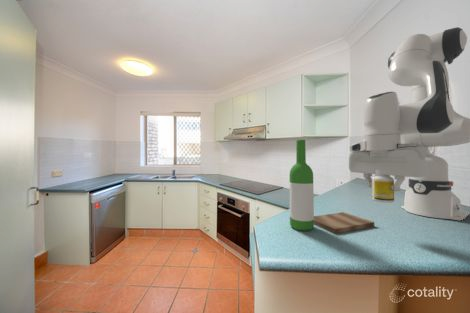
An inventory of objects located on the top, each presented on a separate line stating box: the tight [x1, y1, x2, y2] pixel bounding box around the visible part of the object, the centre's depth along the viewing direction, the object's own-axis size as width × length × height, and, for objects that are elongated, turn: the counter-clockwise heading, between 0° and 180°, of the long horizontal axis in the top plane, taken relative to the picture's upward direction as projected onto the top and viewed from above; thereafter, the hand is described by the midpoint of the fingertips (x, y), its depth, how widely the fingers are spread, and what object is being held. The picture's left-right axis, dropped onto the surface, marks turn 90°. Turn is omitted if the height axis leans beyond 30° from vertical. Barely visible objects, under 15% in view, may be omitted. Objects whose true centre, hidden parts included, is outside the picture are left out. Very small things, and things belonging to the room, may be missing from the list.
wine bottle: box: [289, 139, 315, 232], centre depth 62 cm, size 8×8×30 cm
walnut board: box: [314, 211, 375, 235], centre depth 65 cm, size 18×12×2 cm, turn 109°
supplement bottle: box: [371, 170, 395, 204], centre depth 57 cm, size 5×5×10 cm
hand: (382, 188), depth 57 cm, fingers closed on supplement bottle, 5 cm apart
